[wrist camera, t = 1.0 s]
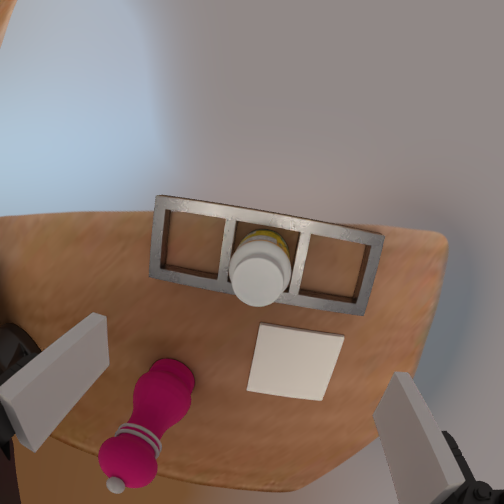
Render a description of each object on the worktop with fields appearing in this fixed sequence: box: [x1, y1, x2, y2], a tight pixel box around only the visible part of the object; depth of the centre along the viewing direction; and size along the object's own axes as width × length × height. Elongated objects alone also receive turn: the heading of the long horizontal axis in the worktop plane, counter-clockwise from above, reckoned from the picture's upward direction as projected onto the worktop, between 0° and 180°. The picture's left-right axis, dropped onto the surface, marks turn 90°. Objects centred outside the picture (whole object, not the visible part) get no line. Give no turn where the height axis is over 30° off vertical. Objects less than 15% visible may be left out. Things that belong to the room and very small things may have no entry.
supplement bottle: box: [229, 229, 291, 307], centre depth 27 cm, size 5×5×10 cm
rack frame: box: [149, 195, 385, 316], centre depth 31 cm, size 24×9×2 cm, turn 81°
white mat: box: [247, 322, 345, 401], centre depth 34 cm, size 10×10×1 cm
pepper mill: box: [98, 359, 195, 493], centre depth 27 cm, size 7×7×20 cm
